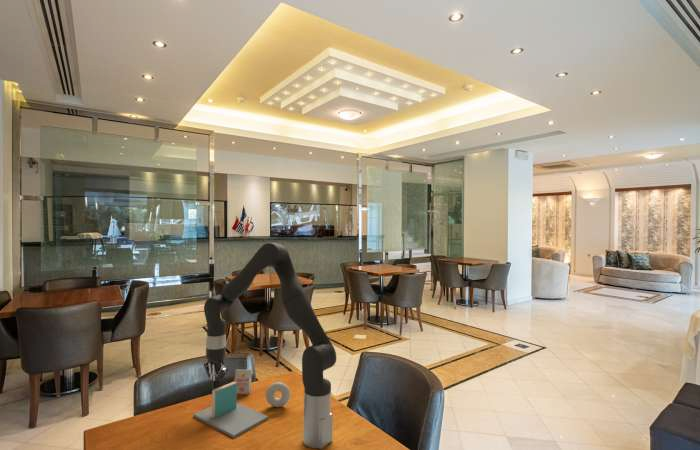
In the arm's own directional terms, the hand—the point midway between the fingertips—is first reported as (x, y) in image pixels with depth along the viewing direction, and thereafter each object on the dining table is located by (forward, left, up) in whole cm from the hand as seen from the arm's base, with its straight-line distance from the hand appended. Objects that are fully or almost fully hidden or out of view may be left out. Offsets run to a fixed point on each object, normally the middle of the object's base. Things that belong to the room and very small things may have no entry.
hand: (215, 388), depth 146 cm
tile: (-6, 0, -2) cm, 7 cm away
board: (-10, 0, -8) cm, 13 cm away
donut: (-18, -17, -9) cm, 26 cm away
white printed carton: (+4, -17, -9) cm, 19 cm away
